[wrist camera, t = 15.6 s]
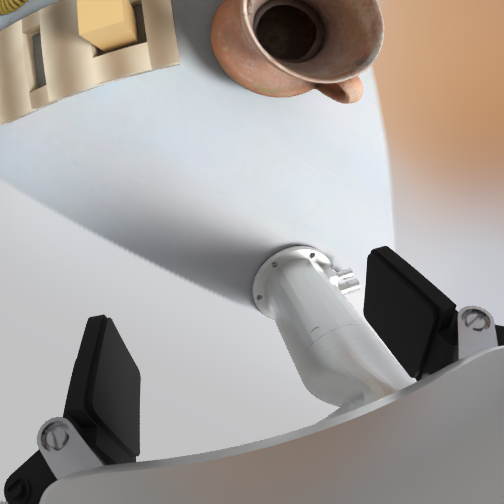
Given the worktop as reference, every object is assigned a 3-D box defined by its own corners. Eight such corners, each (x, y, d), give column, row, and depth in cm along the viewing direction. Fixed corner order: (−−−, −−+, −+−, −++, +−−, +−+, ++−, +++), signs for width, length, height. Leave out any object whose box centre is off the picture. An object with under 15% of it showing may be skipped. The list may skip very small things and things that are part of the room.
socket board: (167, -22, 24) (166, -32, 21) (179, 64, 29) (179, 60, 27) (1, 39, 21) (-10, 37, 18) (11, 122, 27) (0, 124, 24)
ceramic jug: (175, 23, 27) (175, -23, 15) (274, -33, 25) (321, -84, 13) (270, 135, 36) (320, 155, 23) (356, 74, 34) (431, 72, 21)
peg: (135, 13, 25) (121, -16, 16) (138, 42, 27) (123, 21, 18) (101, 22, 24) (76, -3, 16) (104, 51, 26) (79, 34, 18)
